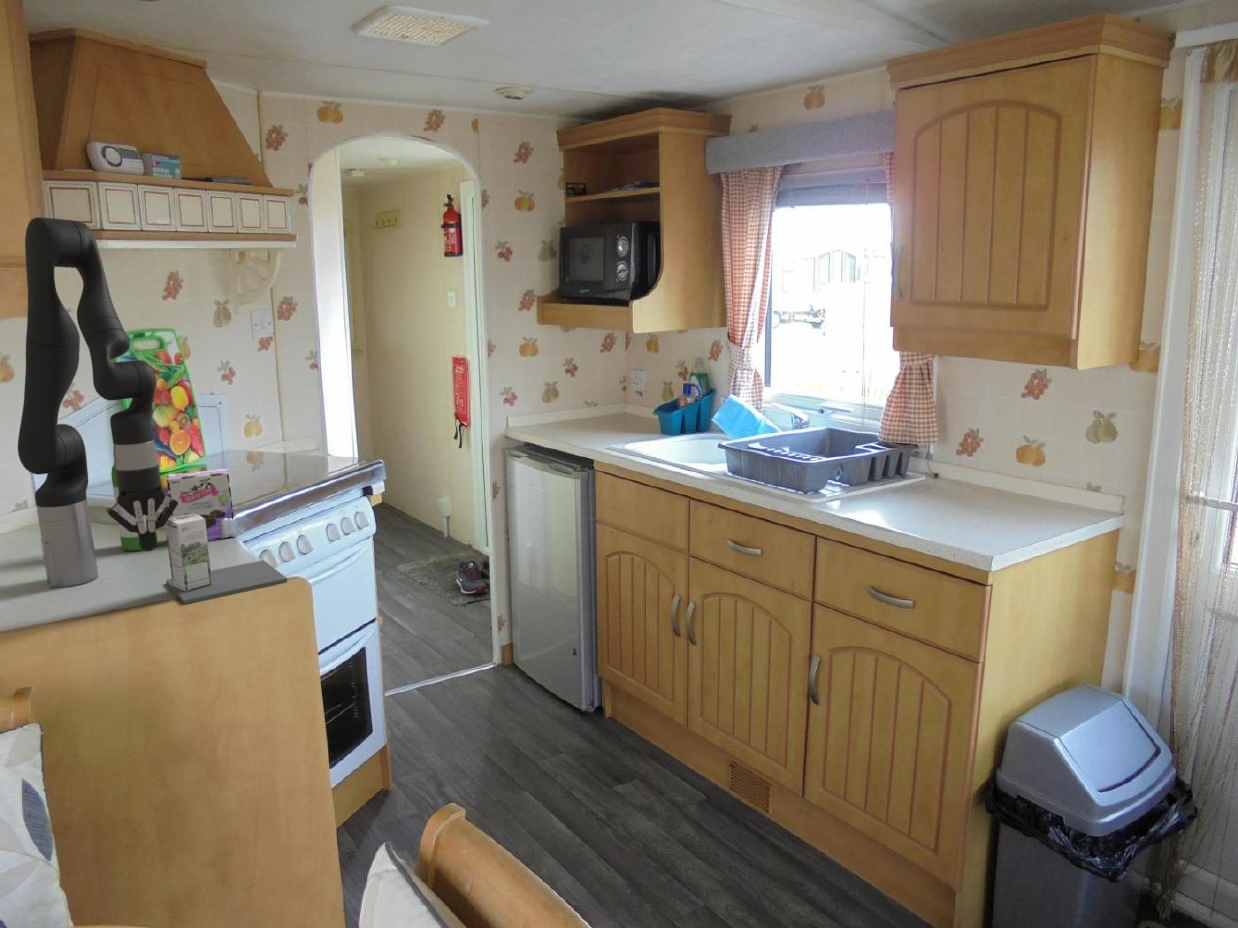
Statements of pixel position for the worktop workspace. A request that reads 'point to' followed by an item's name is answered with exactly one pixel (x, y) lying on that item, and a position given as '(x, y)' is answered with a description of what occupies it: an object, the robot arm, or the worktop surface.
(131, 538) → the wine bottle
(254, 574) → the mat
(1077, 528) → the worktop surface
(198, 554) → the syrup box
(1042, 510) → the worktop surface
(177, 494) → the candy box
